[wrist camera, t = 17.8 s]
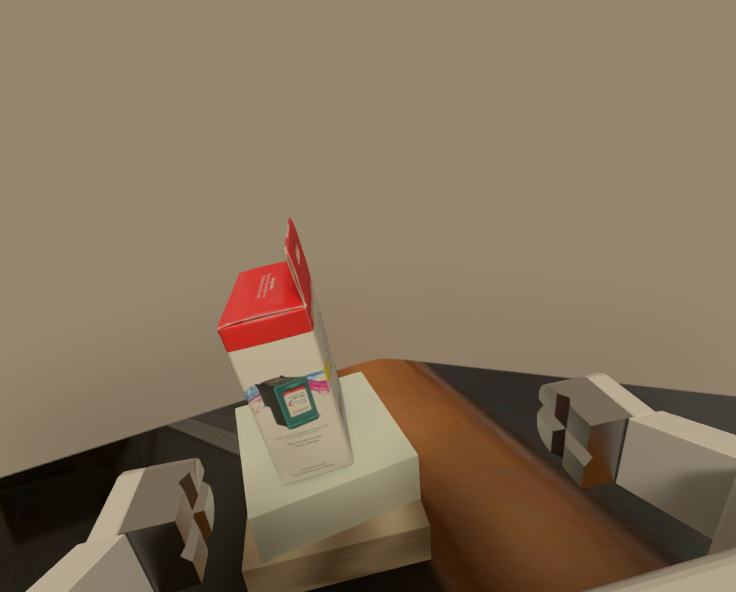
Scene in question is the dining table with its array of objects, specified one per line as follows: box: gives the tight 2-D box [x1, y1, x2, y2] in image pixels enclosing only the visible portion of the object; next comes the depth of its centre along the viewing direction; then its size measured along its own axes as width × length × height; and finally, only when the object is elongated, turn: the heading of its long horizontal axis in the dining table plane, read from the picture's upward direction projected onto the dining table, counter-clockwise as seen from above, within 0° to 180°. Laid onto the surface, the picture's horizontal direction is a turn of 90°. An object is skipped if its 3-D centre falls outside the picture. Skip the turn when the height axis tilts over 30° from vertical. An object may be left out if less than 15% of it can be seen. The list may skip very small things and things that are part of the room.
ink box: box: [217, 218, 354, 485], centre depth 26 cm, size 8×5×15 cm, turn 9°
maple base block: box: [242, 499, 431, 592], centre depth 31 cm, size 12×12×4 cm
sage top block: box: [235, 372, 421, 565], centre depth 30 cm, size 11×11×4 cm
